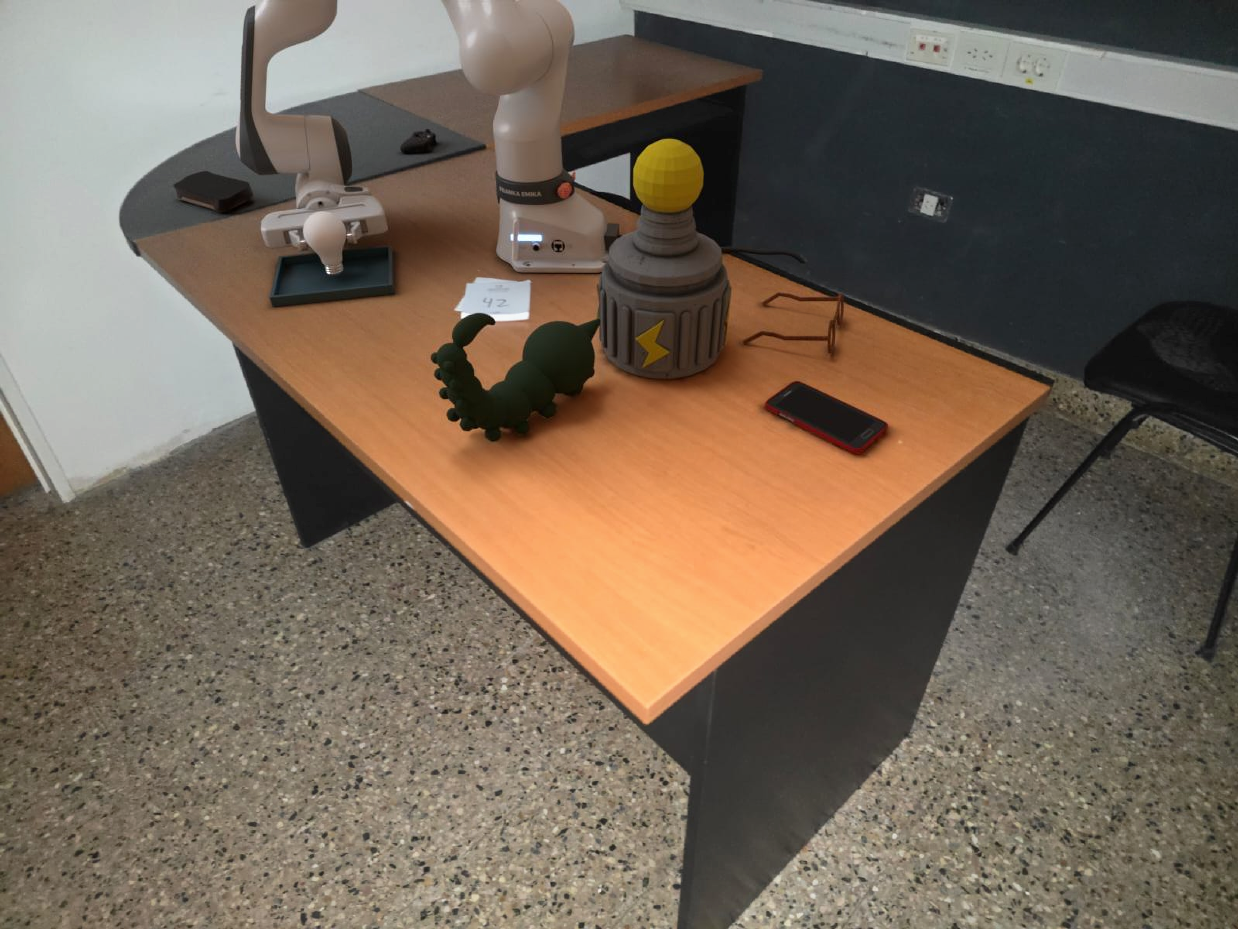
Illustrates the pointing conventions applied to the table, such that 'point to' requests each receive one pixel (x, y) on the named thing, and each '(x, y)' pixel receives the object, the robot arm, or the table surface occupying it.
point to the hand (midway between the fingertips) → (327, 243)
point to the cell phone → (827, 417)
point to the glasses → (807, 338)
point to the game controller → (419, 141)
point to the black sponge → (213, 191)
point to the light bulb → (326, 239)
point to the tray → (333, 277)
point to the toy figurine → (515, 375)
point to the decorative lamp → (664, 275)
